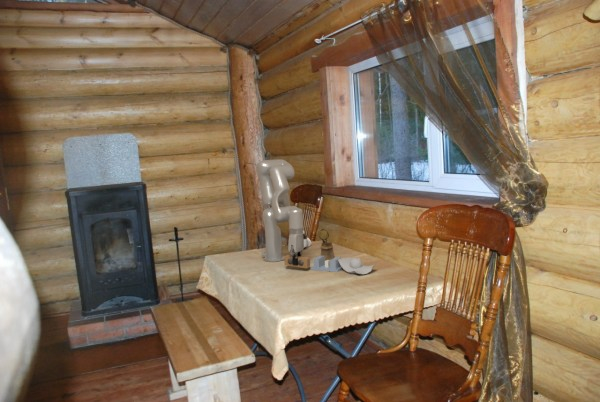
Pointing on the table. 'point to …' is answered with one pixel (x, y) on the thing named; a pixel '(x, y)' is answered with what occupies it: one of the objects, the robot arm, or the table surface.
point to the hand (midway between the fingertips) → (297, 263)
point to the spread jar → (306, 241)
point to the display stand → (326, 264)
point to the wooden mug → (326, 245)
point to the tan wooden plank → (302, 261)
